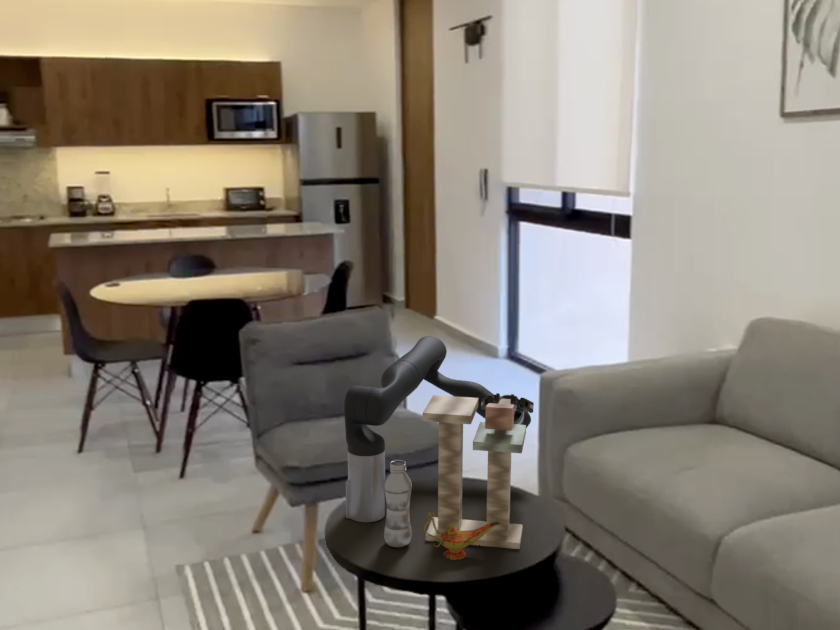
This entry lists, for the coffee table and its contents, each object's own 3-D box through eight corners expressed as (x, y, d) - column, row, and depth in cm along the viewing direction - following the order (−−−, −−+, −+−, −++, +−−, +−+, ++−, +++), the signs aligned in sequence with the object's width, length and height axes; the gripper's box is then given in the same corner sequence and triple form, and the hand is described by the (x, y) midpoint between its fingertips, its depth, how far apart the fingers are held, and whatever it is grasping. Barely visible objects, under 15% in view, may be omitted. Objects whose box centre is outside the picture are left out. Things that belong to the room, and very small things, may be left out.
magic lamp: (504, 556, 193) (505, 511, 190) (426, 564, 189) (427, 518, 187) (494, 542, 199) (495, 498, 197) (420, 550, 195) (420, 505, 193)
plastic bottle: (379, 548, 196) (378, 466, 193) (391, 535, 203) (391, 456, 199) (404, 553, 194) (405, 470, 190) (416, 540, 200) (416, 460, 196)
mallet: (484, 428, 192) (485, 406, 192) (494, 414, 214) (495, 394, 214) (511, 430, 191) (512, 408, 191) (518, 415, 213) (519, 395, 212)
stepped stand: (421, 544, 198) (422, 412, 192) (432, 518, 212) (433, 395, 206) (518, 553, 194) (522, 419, 188) (523, 526, 208) (526, 400, 201)
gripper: (535, 428, 219) (532, 414, 203) (481, 424, 222) (474, 411, 205) (537, 399, 221) (534, 384, 205) (483, 396, 224) (476, 380, 208)
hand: (504, 397), depth 205 cm, fingers closed on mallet, 3 cm apart
